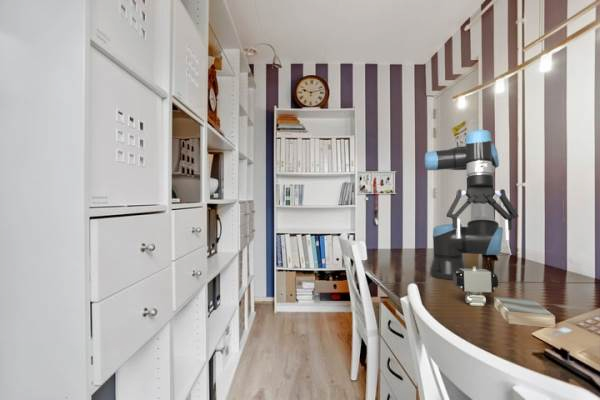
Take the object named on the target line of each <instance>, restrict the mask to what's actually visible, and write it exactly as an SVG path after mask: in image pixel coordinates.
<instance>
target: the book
mask: <svg viewBox="0 0 600 400" xmlns="http://www.w3.org/2000/svg"><path fill="white" fill-rule="evenodd" d="M493 306H494V308H495V309H496V310H497V312H498V313H499V314H500V315H501V316H502V318H503V320H505V321H506V322H507V324H508V325H509V324H510V325H520V326H530V327H537V328H538V327H540V328H548V327H549V326H553V325H555V326H556V316H555V315H554V314H553V313H551V312H550V311H548V310H547V309H546V308H545V307H543V306H542V305H540V304H539V303H538V302H537V301H535V300H534V299H531V298H521V297H520V298H519V297H506V296H494V297H493Z"/></svg>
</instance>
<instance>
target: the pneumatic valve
mask: <svg viewBox="0 0 600 400" xmlns="http://www.w3.org/2000/svg"><path fill="white" fill-rule="evenodd" d="M452 281H453V285H454V287H457V289H459V290H460V291H462V292H466V295H465V298H464V299H465V303H467V304H469V305H470V306H471V307H485V304H486V302H487V299H486V296H484V295H483V293H495V292H494V291H495V289H496V288H498V287H499V279H498V276H497V274H496V273H494V272H493V271H491V270H489V269H487V268H477V266H472V268H466V269H458V268H457V271H456V273H453V280H452Z"/></svg>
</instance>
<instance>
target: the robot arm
mask: <svg viewBox="0 0 600 400" xmlns="http://www.w3.org/2000/svg"><path fill="white" fill-rule="evenodd" d="M491 135H492V134H491V132H490V131H489V130H487V129H478V130H472V131H470V132H468V133H467V134H466V135H465V141H464V143H465V146H464V145H462V146H457V147H452V148H448V149H441V150H432V151H427V152H426V153H425V154H424V167H425V169H426V170H427V171H440V170H441V171H442V170H450V171H451V170H452V171H466V176H467V177H466V190H462V189H457V191H456V196H455V198H454V200H453V202H452V204H450V207H449V208H448V211H447V213H446V214H445V215H446V217H448V218H450V219H452V221H451V222H452V223H449V224H441V225H436V226H434V228H433V230H432V240H433V242H432V246H433V260H432V263H431V266H430V269H429V275H430V276H431V275H432V276H431V277H433V276H434V278H438V279H444V280H452V281H453V273H456V271H457V268H458V269H467V267H466V265H465V262H464V258H463V257H464V256H463V254H470V255H484V256H489V255H490V256H492V255H493V256H497V255H499V254H500V253H501V251H502V243H503V241H505V242H506V241H509V240H510V236H509V235H510V234H509V231H511V230H512V229H513V227H512V226H513V225H512V222H513V221H512V220H514V219H516V218H517V219H518V217H519V215H518V212H517V211H516V209H515V208H514V206H513V205H512V203H511V201H510V200H509V198H508V197H507V195H506V191H505V189H500V190H495V189H494V177H493V175H492V174H494V172H495V171H496V169H497V168H499V165H500V164H499V163H500V162H499V160H500V159H499V153H498V150H497V147H496V145H495V144H494V143H492V136H491ZM464 195H465V196H466V197H467V200H466V201H465V202H464V204H462V205H461V207H459V209H458V210H457V211H456V212H455V213H454V211H455V209H456V208H457V205H458V203H459V201H460V199H461V198H463V197H464ZM494 196H496V197H498V198H499V200H500V201H501V203H502V205H503V206H504V208H505V209H504V208H503V207H502V206H501V205H500V204H499V203H498V202H497V201H496V199H494ZM469 206H470V220H469V221H467V224H466V225H467V226H463V225H462V223H461V218H458V217H459V216H460V215H461V214H462V213H463V212H464V211H465V210H466V209H467V208H468V207H469ZM494 211H496V212H497V213H498V214H499V215H500V216H501V217H502V218H503V219H504V220H503V219H502V221H501V222H502V227H501V226H499V225H500V224H499V222H498V221H497V220H495V212H494Z"/></svg>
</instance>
